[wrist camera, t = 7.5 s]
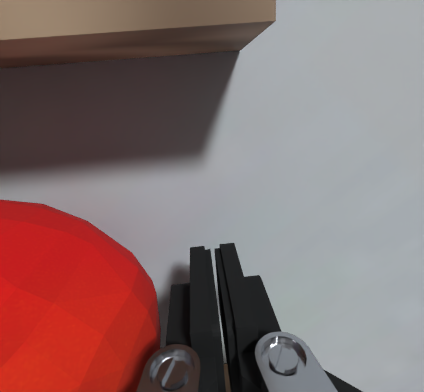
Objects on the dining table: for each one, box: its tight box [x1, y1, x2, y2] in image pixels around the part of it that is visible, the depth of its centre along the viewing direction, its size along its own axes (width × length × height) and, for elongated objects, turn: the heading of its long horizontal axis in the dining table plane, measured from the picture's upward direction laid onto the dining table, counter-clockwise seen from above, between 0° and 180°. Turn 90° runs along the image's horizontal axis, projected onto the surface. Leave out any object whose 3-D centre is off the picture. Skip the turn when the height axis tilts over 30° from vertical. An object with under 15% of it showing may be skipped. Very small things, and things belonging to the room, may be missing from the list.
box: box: [0, 0, 276, 392], centre depth 11 cm, size 17×18×4 cm
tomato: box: [0, 200, 161, 392], centre depth 9 cm, size 9×10×8 cm
